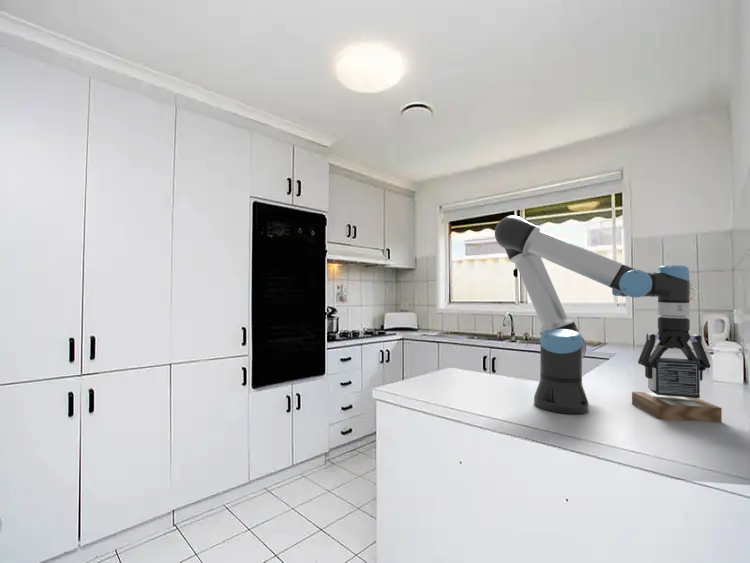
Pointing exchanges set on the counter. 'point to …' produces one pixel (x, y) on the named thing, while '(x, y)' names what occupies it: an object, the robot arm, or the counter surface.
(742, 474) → the counter surface
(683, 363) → the small box
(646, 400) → the wooden block
